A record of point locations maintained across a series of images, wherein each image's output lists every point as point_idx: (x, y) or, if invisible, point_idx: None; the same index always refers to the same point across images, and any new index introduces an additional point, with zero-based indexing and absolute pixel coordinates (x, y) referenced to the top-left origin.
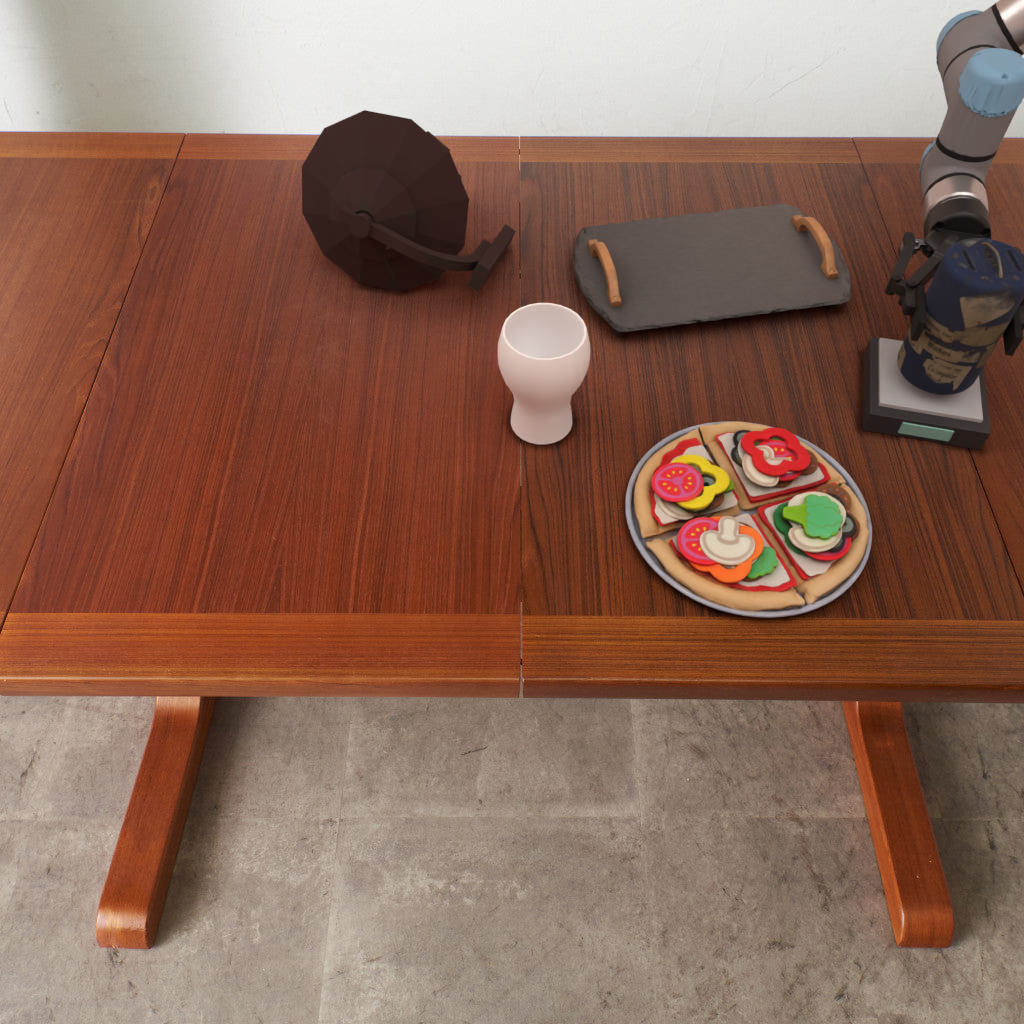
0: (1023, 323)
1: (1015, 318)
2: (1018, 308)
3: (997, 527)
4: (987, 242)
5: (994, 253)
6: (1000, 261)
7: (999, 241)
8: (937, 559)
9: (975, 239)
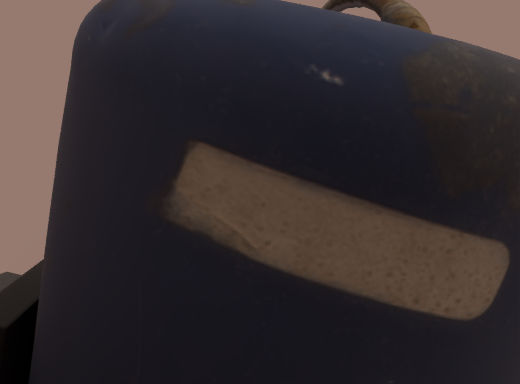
0: (18, 276)
1: None
2: (12, 285)
3: None
4: (408, 7)
5: (356, 4)
6: (323, 7)
7: (290, 4)
8: None
9: (502, 54)
